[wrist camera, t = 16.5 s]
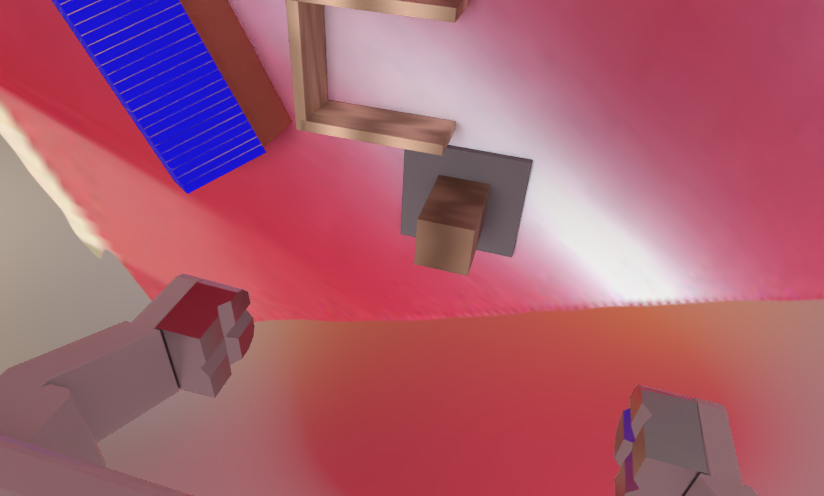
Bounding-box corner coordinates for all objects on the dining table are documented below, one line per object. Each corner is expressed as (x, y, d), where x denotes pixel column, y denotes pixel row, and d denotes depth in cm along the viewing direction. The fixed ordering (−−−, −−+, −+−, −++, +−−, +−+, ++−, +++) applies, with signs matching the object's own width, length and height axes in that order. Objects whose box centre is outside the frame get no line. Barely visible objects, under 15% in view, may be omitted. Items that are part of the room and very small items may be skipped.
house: (183, -94, 46) (81, -75, 37) (297, 122, 56) (237, 178, 47) (92, -38, 52) (-16, -10, 43) (210, 151, 61) (142, 207, 52)
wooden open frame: (469, -8, 44) (456, 8, 40) (454, 131, 51) (442, 155, 47) (311, -27, 46) (284, -15, 43) (318, 108, 54) (296, 129, 50)
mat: (532, 160, 51) (531, 163, 50) (512, 253, 58) (512, 257, 57) (406, 137, 53) (405, 140, 53) (402, 230, 60) (400, 233, 59)
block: (489, 184, 53) (474, 230, 47) (483, 226, 56) (467, 275, 50) (439, 174, 54) (417, 219, 48) (435, 217, 57) (414, 264, 51)
